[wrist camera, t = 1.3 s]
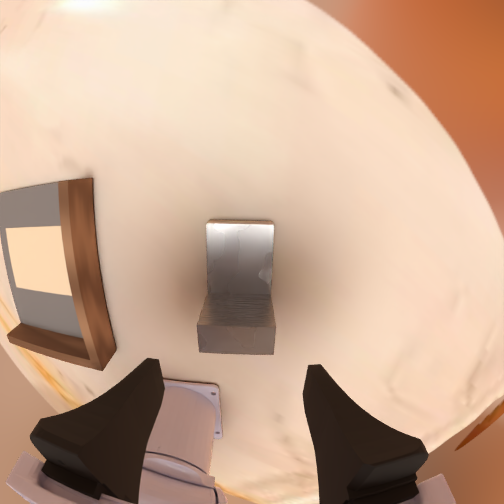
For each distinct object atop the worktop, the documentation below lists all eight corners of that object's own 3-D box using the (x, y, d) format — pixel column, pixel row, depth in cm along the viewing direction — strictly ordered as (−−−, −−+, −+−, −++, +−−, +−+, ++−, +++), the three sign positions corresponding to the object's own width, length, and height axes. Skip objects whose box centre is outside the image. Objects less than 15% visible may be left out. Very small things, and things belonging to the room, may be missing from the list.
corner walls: (116, 350, 23) (102, 371, 19) (25, 328, 23) (9, 342, 19) (92, 177, 18) (67, 180, 15) (-1, 193, 18) (-23, 197, 15)
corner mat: (116, 350, 23) (114, 352, 22) (25, 328, 23) (23, 330, 22) (92, 177, 18) (88, 178, 18) (-1, 193, 18) (-4, 193, 18)
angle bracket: (268, 308, 21) (273, 354, 16) (211, 307, 21) (199, 352, 16) (272, 221, 19) (281, 241, 14) (209, 219, 19) (192, 239, 14)
